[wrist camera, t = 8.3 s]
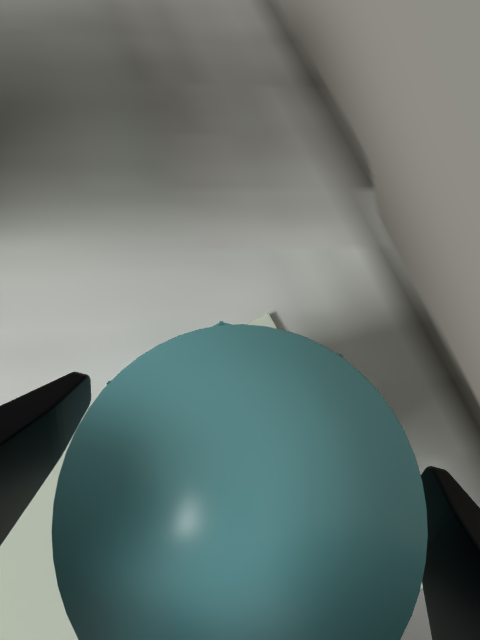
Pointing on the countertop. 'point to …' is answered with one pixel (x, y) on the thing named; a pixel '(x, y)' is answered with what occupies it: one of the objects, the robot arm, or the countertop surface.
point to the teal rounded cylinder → (239, 498)
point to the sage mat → (39, 567)
